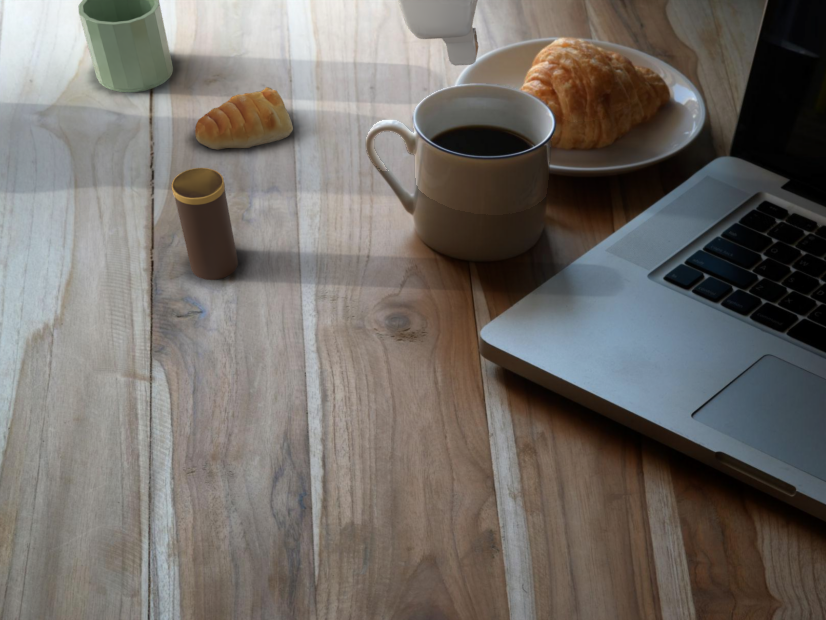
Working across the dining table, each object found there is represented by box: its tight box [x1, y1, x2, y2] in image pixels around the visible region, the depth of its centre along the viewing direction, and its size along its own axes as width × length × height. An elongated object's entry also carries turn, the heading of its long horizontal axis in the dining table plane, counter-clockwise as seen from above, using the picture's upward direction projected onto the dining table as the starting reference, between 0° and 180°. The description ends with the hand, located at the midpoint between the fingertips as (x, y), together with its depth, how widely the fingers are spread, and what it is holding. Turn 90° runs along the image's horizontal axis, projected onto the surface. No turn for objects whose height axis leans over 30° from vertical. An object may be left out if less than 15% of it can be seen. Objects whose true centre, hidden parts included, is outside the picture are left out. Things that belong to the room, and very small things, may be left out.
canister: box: [77, 0, 174, 93], centre depth 99 cm, size 8×8×8 cm
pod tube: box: [171, 167, 239, 281], centre depth 78 cm, size 4×4×9 cm
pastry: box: [194, 86, 294, 150], centre depth 93 cm, size 9×7×4 cm
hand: (473, 17), depth 64 cm, fingers open, 8 cm apart
